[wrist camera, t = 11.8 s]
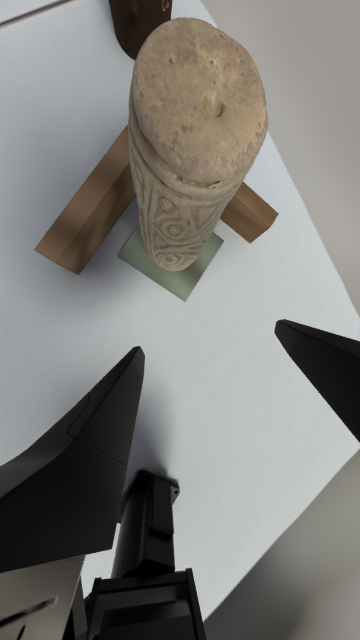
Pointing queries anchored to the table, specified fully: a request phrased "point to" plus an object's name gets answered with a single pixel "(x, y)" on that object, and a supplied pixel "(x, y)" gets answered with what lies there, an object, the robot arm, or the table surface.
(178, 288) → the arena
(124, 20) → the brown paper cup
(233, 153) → the carving
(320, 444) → the table surface
